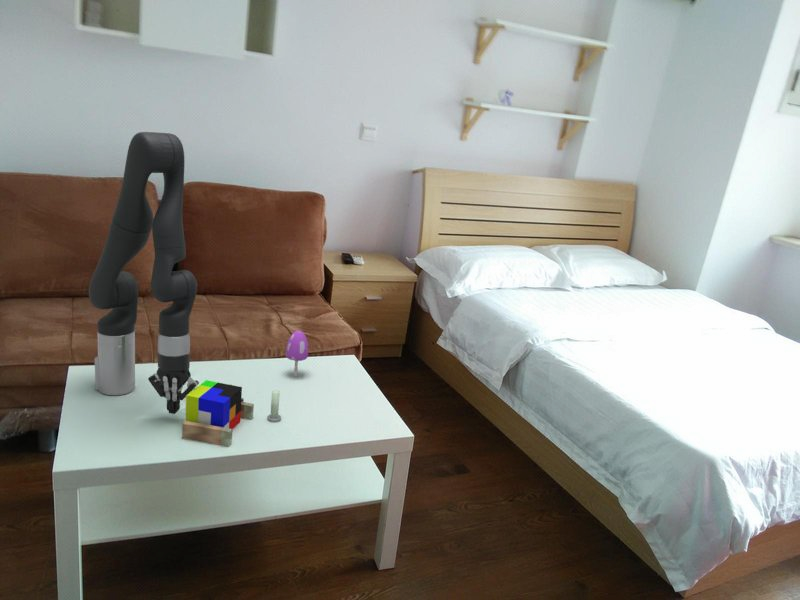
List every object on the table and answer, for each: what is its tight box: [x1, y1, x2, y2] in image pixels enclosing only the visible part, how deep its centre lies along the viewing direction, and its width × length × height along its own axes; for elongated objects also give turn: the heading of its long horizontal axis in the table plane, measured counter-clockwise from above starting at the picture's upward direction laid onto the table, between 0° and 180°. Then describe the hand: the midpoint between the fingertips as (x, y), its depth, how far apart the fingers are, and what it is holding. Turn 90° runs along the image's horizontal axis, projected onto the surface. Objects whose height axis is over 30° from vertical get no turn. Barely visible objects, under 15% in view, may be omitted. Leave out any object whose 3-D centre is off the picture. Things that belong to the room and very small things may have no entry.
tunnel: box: [181, 397, 255, 447], centre depth 161 cm, size 12×22×4 cm, turn 172°
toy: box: [285, 330, 309, 378], centre depth 193 cm, size 7×7×15 cm
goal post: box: [266, 389, 282, 423], centre depth 166 cm, size 4×4×8 cm
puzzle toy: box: [185, 379, 243, 431], centre depth 158 cm, size 10×10×10 cm
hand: (173, 412), depth 160 cm, fingers closed
